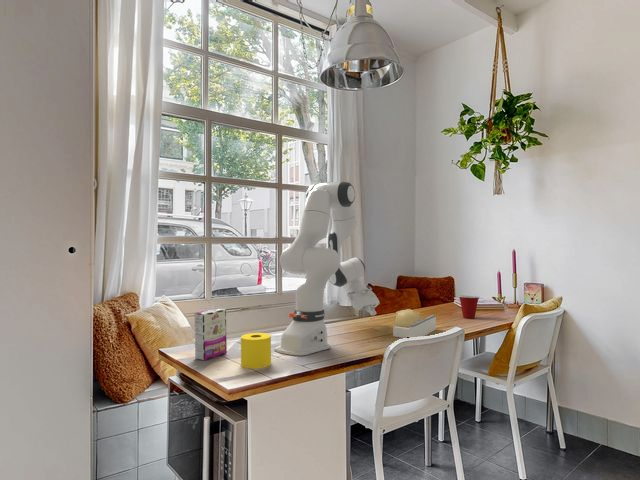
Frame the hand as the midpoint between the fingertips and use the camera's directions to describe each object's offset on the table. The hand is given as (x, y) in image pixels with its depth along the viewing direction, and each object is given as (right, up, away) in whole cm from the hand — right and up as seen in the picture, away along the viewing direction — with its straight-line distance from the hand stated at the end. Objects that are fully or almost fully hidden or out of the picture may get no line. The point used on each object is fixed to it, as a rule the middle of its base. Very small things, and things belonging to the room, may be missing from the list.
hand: (374, 314), depth 196 cm
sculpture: (+14, -7, -9) cm, 18 cm away
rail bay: (+16, -7, -10) cm, 20 cm away
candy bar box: (-65, -7, -45) cm, 79 cm away
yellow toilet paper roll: (-47, -7, -55) cm, 73 cm away
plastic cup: (+54, -7, +27) cm, 61 cm away
